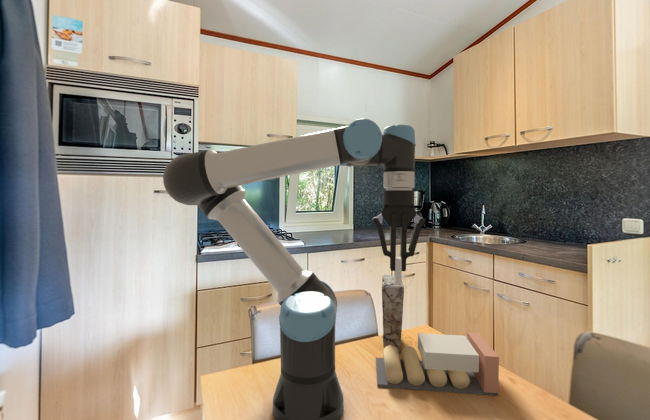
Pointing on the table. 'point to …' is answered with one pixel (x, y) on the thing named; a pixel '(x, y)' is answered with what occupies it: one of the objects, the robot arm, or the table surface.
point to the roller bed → (426, 382)
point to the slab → (447, 352)
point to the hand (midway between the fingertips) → (397, 283)
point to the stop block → (485, 363)
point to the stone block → (392, 311)
